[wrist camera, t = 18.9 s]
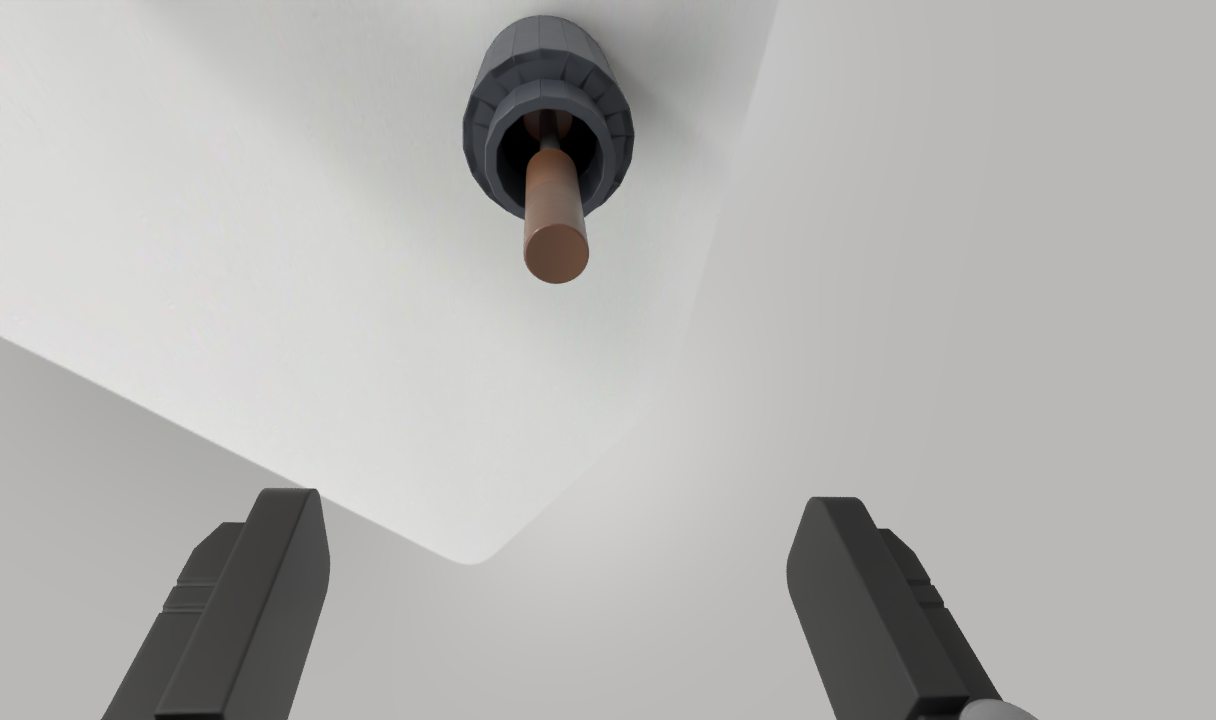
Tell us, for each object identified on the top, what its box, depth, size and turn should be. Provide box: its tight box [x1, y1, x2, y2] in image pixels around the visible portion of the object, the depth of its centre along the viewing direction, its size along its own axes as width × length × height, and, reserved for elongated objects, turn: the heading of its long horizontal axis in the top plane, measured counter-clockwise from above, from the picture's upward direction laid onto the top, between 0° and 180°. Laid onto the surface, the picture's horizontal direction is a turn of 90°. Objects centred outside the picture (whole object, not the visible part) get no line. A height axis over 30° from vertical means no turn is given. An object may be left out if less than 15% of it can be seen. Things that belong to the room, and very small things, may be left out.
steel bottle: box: [463, 16, 634, 220], centre depth 35 cm, size 8×8×16 cm
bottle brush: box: [523, 109, 589, 284], centre depth 31 cm, size 3×3×24 cm
